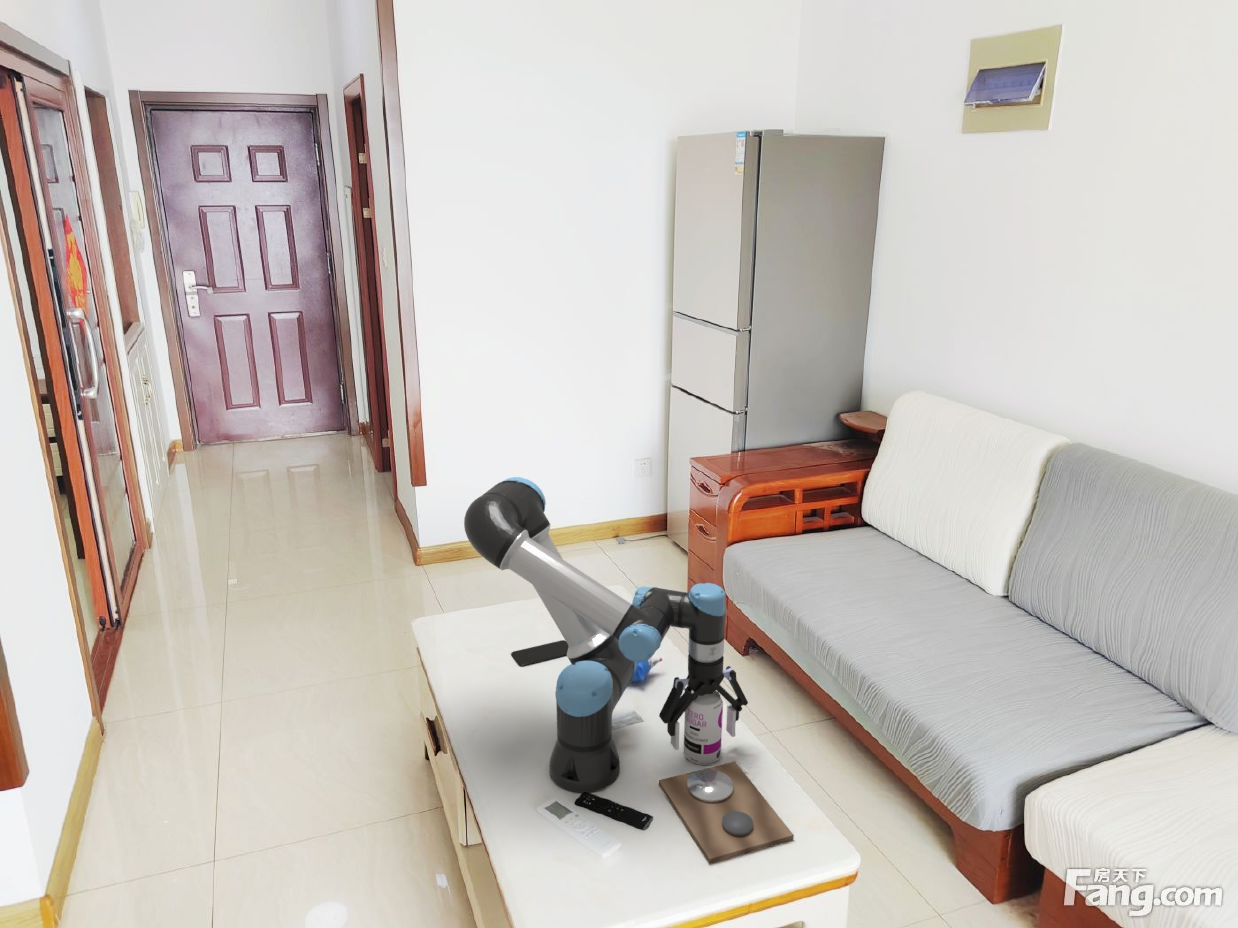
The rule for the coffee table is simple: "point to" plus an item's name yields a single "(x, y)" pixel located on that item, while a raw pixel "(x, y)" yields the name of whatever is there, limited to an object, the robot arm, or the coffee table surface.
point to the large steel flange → (710, 786)
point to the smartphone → (540, 653)
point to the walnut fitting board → (708, 816)
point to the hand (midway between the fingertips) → (702, 739)
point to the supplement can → (703, 729)
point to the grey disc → (737, 823)
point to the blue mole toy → (644, 668)
